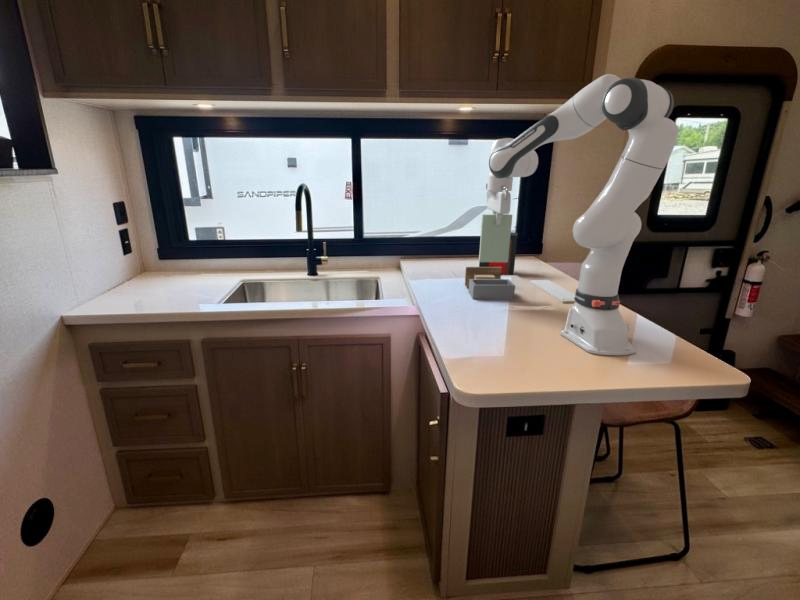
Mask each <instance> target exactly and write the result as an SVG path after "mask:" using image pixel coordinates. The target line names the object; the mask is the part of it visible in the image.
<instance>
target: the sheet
mask: <svg viewBox="0 0 800 600" xmlns="http://www.w3.org/2000/svg"><path fill="white" fill-rule="evenodd" d="M495 219H496V214H491V213H490V214H489V213H488V214H487V213H484V214H483V213H482V215H481V222H480V223H481V224H480V225H481V226H480V237H479V238H480V240H479V251H478V253H479V254H478V262H508V256H509V245H510V235H511V232H512V222H513V214H503V216H502V218H501V224H500V225H496V224H495Z"/></svg>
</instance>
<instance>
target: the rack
mask: <svg viewBox="0 0 800 600" xmlns="http://www.w3.org/2000/svg"><path fill="white" fill-rule="evenodd" d="M474 275H494V276H495V279H502V277H501V276H502V275H501V267H479V266H465V276H464V286H465V288H466V289H467V292H468V291H469V279H474Z"/></svg>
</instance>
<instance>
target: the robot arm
mask: <svg viewBox="0 0 800 600" xmlns="http://www.w3.org/2000/svg"><path fill="white" fill-rule="evenodd" d="M674 103H675V101H674V95H673V94H672V93H671V91H670V90H669V89H667V87H664V86H661V85H659V84H656V83H655V82H653V81H652V80H648V79H647V80H646V79H642V78H641V79H640V78H639V77H638V78H637V77H625V78H620V77H619V76H617V75H616V74H612V73H606V74H604V75H601V76H599V77H598V78H596V79H594V80H593V81H592V82H590V83H589V84H587V85H586V86H584V87H583V88H581V89H580V90H579V91H578V92H577V93H575V94H574V95H573V96H572V97H570V99H568V100H567V101H566V102H565V103H564V104H562V105H561V106H558V108H556V110H554V111H553V112H551V113H549V114H547V115H546V116H544V117H543V118H542V119H540V120H538V121H537V122H536V123H534V124H533V125H532V126H529V128H527V129H526V130H525V131H523V132H522V133H520V134H519V135H518V136H517V137H515V138H513V137H503V138H497V139H496V140H494V141H493V142H492V145H491V148H490V152H489V159H488V167H489V173H488V176H487V183H486V184H485V189H486V208H487V210H491V211H492V212H491V213H492V214H496V219H495V224H496V225H500V224H501V218H502V216H503V214H507V215H510V211H511V204H512V198H511V196H512V195H511V191H513V183H514V182H513V180H514V178H526V177H529V176H531V175H534V173H535V172H536V171H537V169H538V167H539V155H538V153H537V152H536V149H538V148H539V147H541V146H543V145H545V144H549V143H553V142H559V141H568V140H569V141H570V140H575V139H577V138H580V137H582V136H584V135H586V134H588V133H589V132H591V131H592V130H594V128H596V127H597V126H599V125H600V124H601V123H603V122H604V121H605V120H607V119H608V120H609V121H610V122H611V123H612V124H614V125H615V126H617V127H618V128H619V129H620V130H621V131H623V132H624V131H627V132H628V139H627V142H626V145H625V147H624V148H623V151H622V153H621V155H620V157H619V159H618V161H617V163H616V164H615V166H614V167H615V168H614V169H613V171H612V173H611V175H610V177H609V179H608V181H607V182H606V184H605V186H604V187H603V189H602V190H601V191H600V193H599V194H598V196H597V197H596V198H595V199H594V200H593V202H592V204H590V206H589V208H587V210H586V211H585V212H584V213H583V214H582V215H580V216H579V217H578V218H576V220H575V222H574V224H573V226H572V236H573V239H574V241H575V242H576V243H577V244H578V245H579V246H580V247H582V248H587V249H590V250H589V252H588V254H587V255H586V257H585V259H584V261H583V262H582V264H581V266H580V271H579V272H580V273H579V279H578V285H577V288H576V289H575V293H574V294H575V303H573V305H572V306H571V307H570V308H569V310H568V313H567V317H566V322H565V326H564V328H563V329H561V330H560V333H559V334H560V335H561V336H563V338H565V339H568V341H571V342H572V343H573V344H574V345H577V346H578V347H579V348H581V349H583V350H584V351H586V352H587V353H590V354H593V355H599V356H600V355H601V356H628V355H632V354H636V352H637V351H636V348H635V347H634V346H633V345H632V344H631V342H630V341H629V331H630V330H631V329H630V324H629V323H625V321H624V318H623V316H622V314H621V311H620V309H619V308H620V306H621V304H620V303H621V300H620V297H619V293H618V292H619V286H620V282H621V276H622V271H623V268H624V265H625V263H626V260H627V257H628V256H629V252H630V250H631V247H632V245H633V242H634V241H635V239H636V238H637V236H638V235H639V234H640V231H641V229H642V220H641V217H640V216H639V215H638V213H636V211H637V209H638V208H639V206H640V205H642V203H644V202H645V201H646V200H647V199H648V198H649V196H650V195H651V193H652V191H653V190H654V187H655V186H656V184H657V182H658V180H659V178H660V177H661V174H662V173H663V171H664V169H665V167H666V165H667V163H668V162H669V160H670V157H671V156H672V153H673V151H674V148H675V145H676V142H677V139H678V136H679V134H680V131H679V130H680V129H679V126H678V125H677V123H676V122H675V121H674V120H672V119H670V118H669V117H670V115H672V113H673V110H674V106H675V105H674Z"/></svg>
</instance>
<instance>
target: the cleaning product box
mask: <svg viewBox="0 0 800 600" xmlns="http://www.w3.org/2000/svg"><path fill="white" fill-rule="evenodd" d="M518 234H519V233H518V232H512V231H511V235H510V245H509V256H508V262H479V261H478V262H479V266H478V267H501V276H514V272H515V263H516V253H517V243H518Z"/></svg>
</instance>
